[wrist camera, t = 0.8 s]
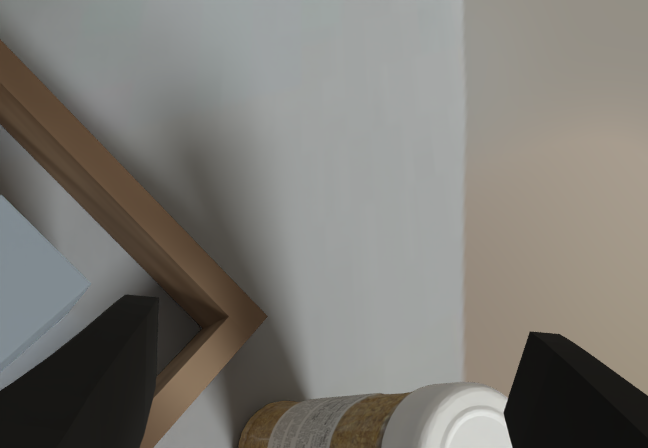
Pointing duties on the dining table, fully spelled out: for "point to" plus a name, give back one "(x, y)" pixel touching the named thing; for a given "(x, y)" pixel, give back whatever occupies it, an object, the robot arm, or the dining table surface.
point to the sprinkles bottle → (386, 420)
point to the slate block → (31, 284)
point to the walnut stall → (133, 238)
